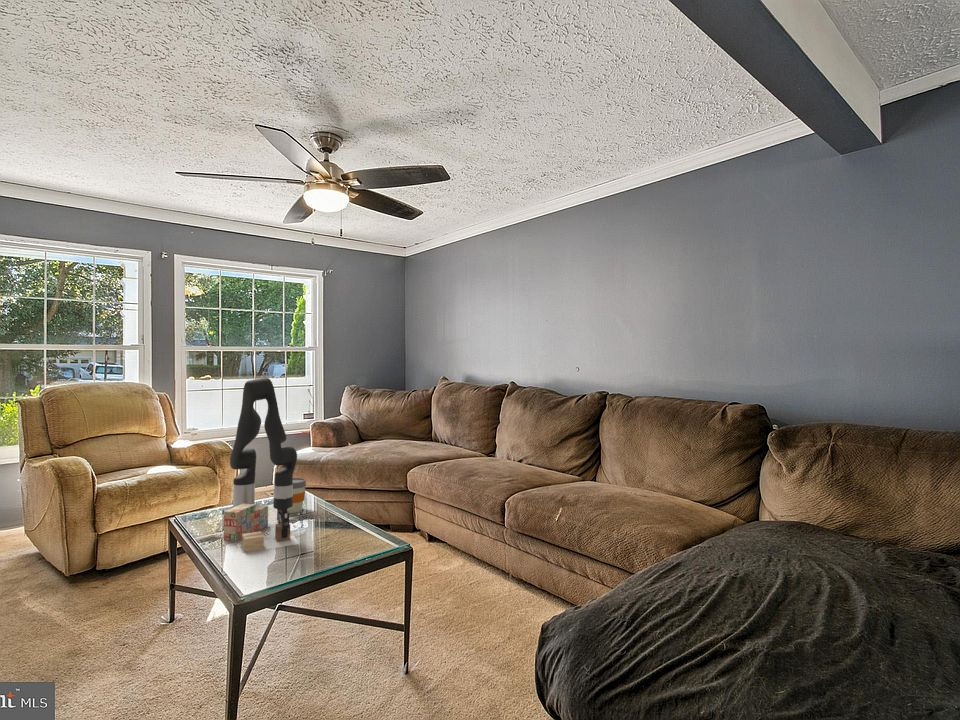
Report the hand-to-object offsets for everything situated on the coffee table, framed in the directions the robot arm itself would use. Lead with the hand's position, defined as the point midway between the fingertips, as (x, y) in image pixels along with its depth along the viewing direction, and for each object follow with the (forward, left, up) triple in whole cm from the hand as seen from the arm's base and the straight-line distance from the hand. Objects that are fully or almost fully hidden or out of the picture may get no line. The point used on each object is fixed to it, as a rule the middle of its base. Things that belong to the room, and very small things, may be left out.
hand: (282, 534), depth 210 cm
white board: (+3, -6, -2) cm, 7 cm away
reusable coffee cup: (-44, +12, -2) cm, 46 cm away
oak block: (+5, -12, -2) cm, 13 cm away
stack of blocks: (-18, -12, -3) cm, 21 cm away
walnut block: (0, 0, -2) cm, 2 cm away
